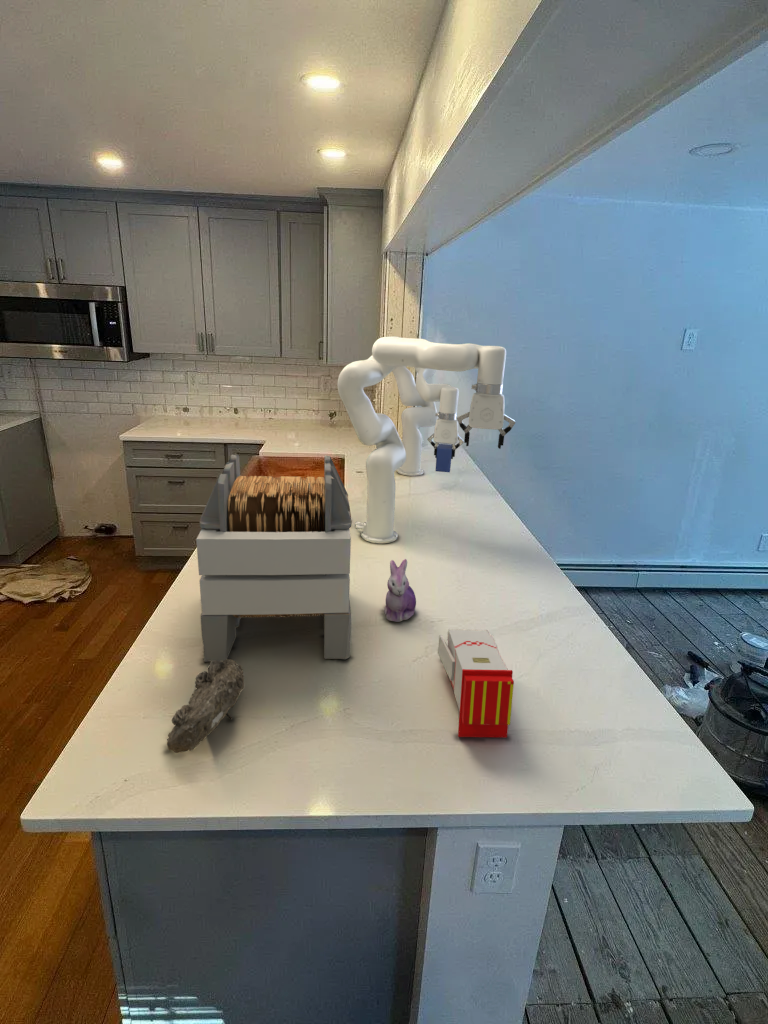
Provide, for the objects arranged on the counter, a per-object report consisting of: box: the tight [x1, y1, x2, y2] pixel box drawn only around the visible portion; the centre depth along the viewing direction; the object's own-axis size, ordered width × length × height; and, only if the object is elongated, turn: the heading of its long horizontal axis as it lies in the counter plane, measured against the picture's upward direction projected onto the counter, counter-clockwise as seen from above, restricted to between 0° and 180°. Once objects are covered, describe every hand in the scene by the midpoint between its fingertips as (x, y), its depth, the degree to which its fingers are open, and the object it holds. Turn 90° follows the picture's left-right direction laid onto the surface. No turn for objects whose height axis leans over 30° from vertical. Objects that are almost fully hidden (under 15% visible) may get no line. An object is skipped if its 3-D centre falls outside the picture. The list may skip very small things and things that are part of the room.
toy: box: [437, 628, 515, 738], centre depth 117 cm, size 12×13×30 cm
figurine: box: [384, 558, 417, 623], centre depth 145 cm, size 9×10×15 cm
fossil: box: [166, 658, 245, 754], centre depth 106 cm, size 22×10×15 cm
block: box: [434, 443, 453, 474], centre depth 245 cm, size 6×9×10 cm
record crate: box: [195, 453, 353, 663], centre depth 134 cm, size 34×33×41 cm
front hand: (483, 446), depth 172 cm, fingers open, 9 cm apart
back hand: (444, 457), depth 246 cm, fingers closed on block, 6 cm apart
